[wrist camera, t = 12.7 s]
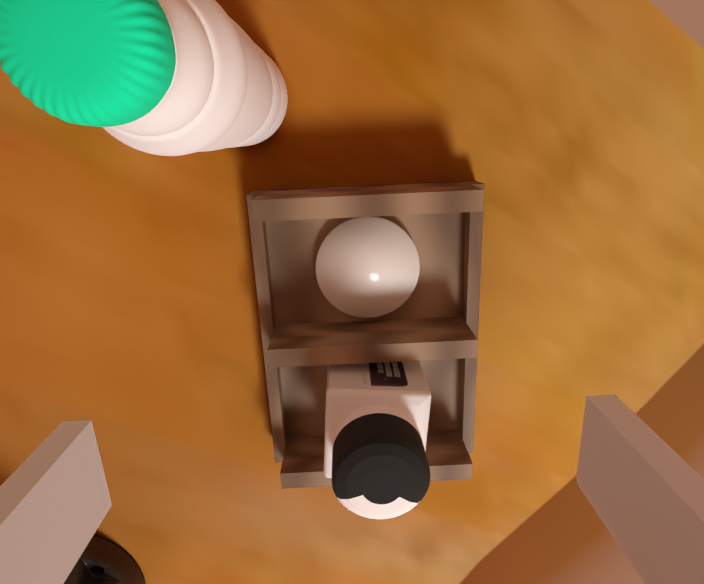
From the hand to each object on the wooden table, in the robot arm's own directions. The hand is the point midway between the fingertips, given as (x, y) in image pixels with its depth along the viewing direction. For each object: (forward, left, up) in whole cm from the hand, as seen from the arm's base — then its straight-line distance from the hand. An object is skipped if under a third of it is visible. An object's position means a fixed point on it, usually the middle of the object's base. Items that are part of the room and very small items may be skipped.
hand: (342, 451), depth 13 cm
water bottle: (-7, +11, -29) cm, 32 cm away
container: (+2, -14, -28) cm, 31 cm away
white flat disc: (+2, -2, -28) cm, 28 cm away
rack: (+2, -8, -29) cm, 30 cm away
